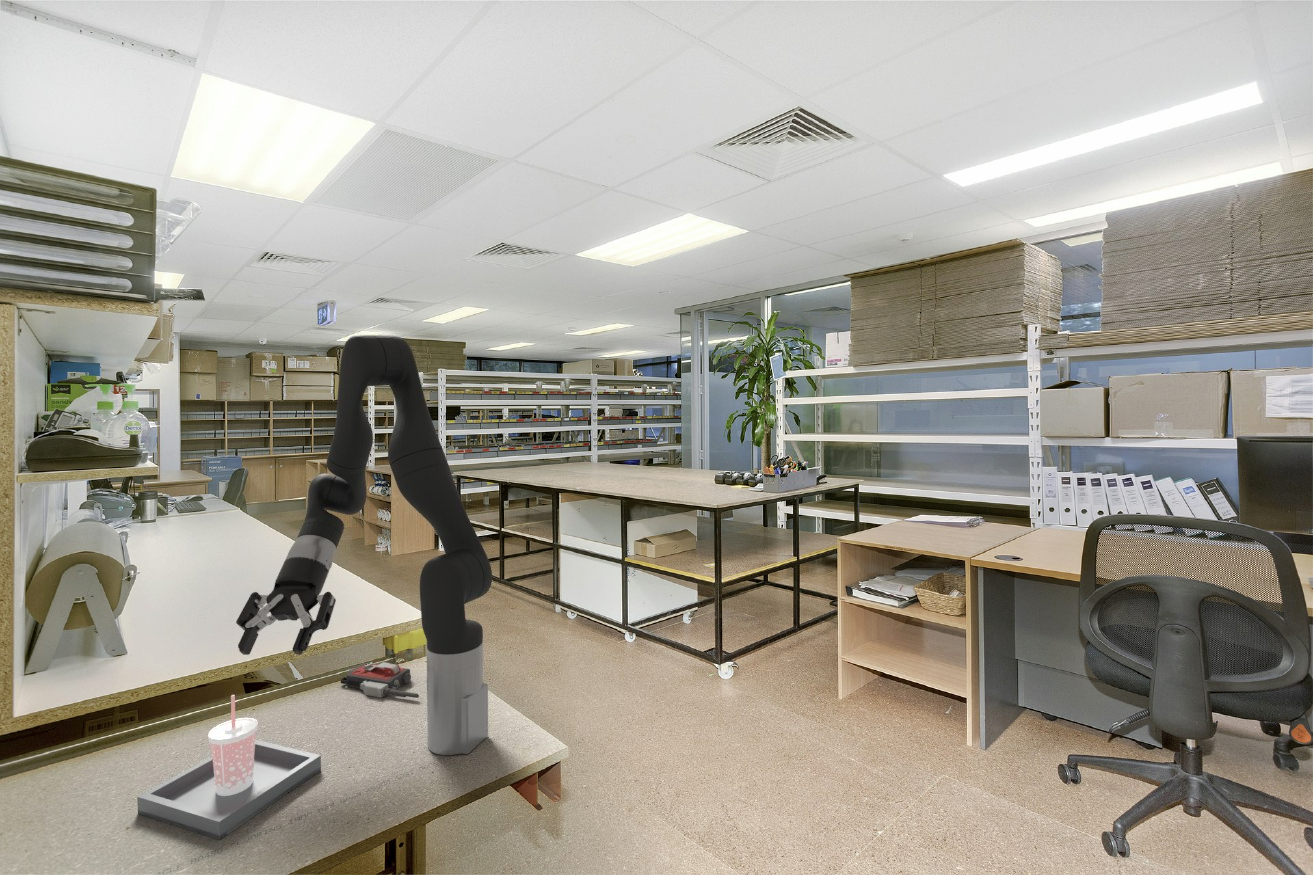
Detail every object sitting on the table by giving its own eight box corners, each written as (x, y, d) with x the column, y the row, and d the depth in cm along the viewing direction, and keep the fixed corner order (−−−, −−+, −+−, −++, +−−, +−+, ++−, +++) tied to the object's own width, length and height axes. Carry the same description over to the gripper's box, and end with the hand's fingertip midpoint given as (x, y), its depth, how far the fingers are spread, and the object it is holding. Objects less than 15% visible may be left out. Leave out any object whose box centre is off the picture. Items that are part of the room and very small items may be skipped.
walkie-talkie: (331, 691, 120) (414, 705, 115) (331, 670, 120) (414, 683, 115) (363, 673, 129) (442, 685, 124) (363, 653, 129) (442, 664, 123)
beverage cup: (268, 773, 92) (266, 685, 91) (241, 799, 86) (239, 705, 85) (228, 773, 92) (226, 685, 91) (198, 799, 86) (196, 705, 85)
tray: (321, 770, 94) (320, 755, 94) (219, 839, 78) (219, 821, 78) (246, 751, 98) (246, 737, 98) (137, 813, 83) (137, 796, 83)
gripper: (257, 555, 105) (214, 643, 94) (339, 555, 105) (305, 643, 94) (276, 576, 110) (237, 662, 99) (353, 576, 111) (323, 661, 100)
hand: (270, 652), depth 97 cm, fingers open, 8 cm apart
